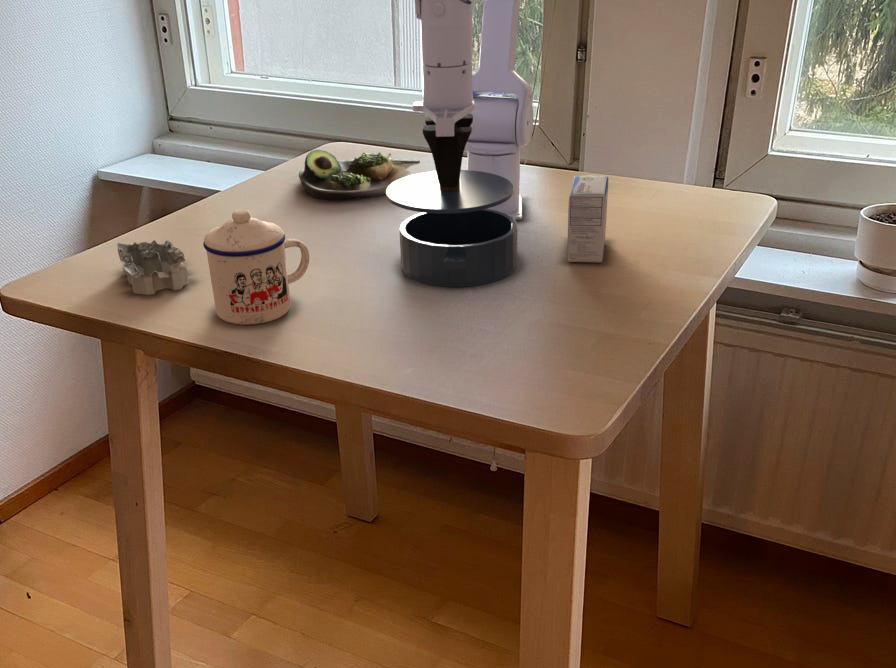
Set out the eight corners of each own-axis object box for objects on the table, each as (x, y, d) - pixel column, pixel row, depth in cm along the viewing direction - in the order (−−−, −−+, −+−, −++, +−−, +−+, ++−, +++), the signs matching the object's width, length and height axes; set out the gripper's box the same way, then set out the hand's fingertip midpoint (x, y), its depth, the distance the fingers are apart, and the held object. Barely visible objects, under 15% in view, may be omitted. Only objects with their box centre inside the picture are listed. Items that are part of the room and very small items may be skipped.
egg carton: (192, 289, 123) (187, 257, 121) (130, 299, 121) (123, 267, 119) (179, 259, 131) (173, 229, 129) (120, 269, 129) (114, 238, 127)
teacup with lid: (231, 333, 111) (215, 231, 105) (203, 306, 118) (187, 208, 112) (328, 308, 116) (319, 209, 110) (296, 283, 123) (286, 189, 117)
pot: (394, 296, 118) (392, 255, 116) (408, 237, 135) (407, 201, 132) (517, 295, 117) (517, 254, 114) (516, 236, 134) (517, 199, 131)
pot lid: (380, 219, 116) (377, 180, 113) (392, 179, 129) (390, 143, 126) (514, 217, 115) (514, 178, 112) (513, 177, 127) (513, 141, 125)
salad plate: (403, 159, 166) (402, 130, 164) (442, 189, 152) (441, 158, 150) (289, 175, 161) (286, 146, 159) (318, 207, 147) (315, 176, 144)
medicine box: (602, 264, 124) (606, 194, 120) (565, 262, 125) (568, 193, 120) (605, 241, 131) (609, 175, 126) (570, 240, 132) (573, 174, 127)
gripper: (416, 50, 120) (420, 165, 127) (406, 77, 108) (411, 202, 115) (475, 49, 119) (476, 164, 127) (472, 75, 107) (473, 201, 114)
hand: (449, 182), depth 121 cm, fingers closed on pot lid, 2 cm apart
